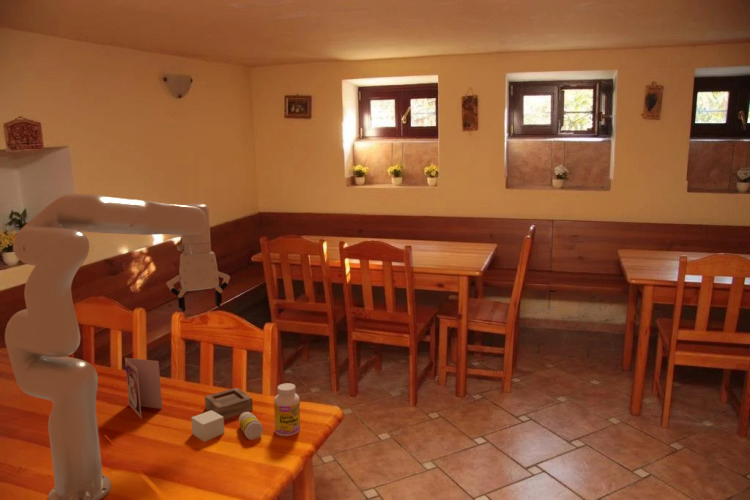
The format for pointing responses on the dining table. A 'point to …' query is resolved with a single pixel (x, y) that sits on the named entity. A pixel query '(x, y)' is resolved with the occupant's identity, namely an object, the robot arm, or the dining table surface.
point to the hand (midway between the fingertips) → (200, 308)
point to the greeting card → (143, 384)
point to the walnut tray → (229, 403)
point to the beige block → (207, 425)
